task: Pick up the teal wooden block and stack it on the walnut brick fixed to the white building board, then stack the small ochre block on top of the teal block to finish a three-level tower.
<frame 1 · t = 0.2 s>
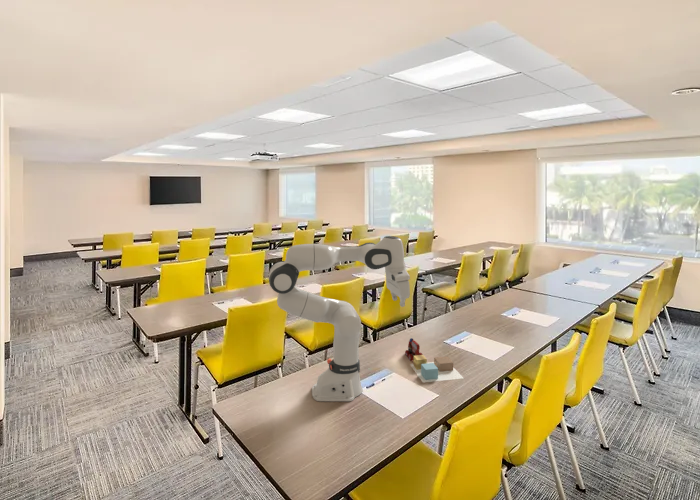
hand: (398, 303, 170), 39 cm above the table, tool pointing down, fingers open, 8 cm apart
teal block: (429, 376, 181), point 1 cm above the table, touching building board
building board: (435, 373, 187), on the table
ochre block: (419, 366, 191), point 1 cm above the table, touching building board
toy fire truck: (413, 359, 203), on the table
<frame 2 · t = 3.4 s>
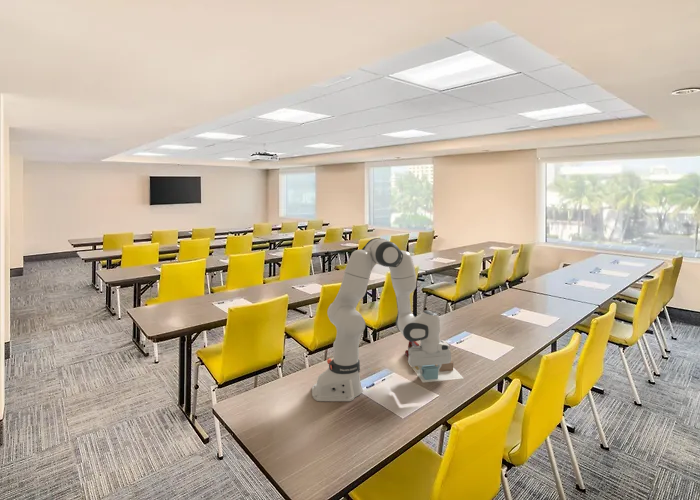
hand: (429, 372, 181), 3 cm above the table, tool pointing down, fingers closed on teal block, 6 cm apart
teal block: (429, 376, 181), point 1 cm above the table, touching building board, gripper
everything else where it was.
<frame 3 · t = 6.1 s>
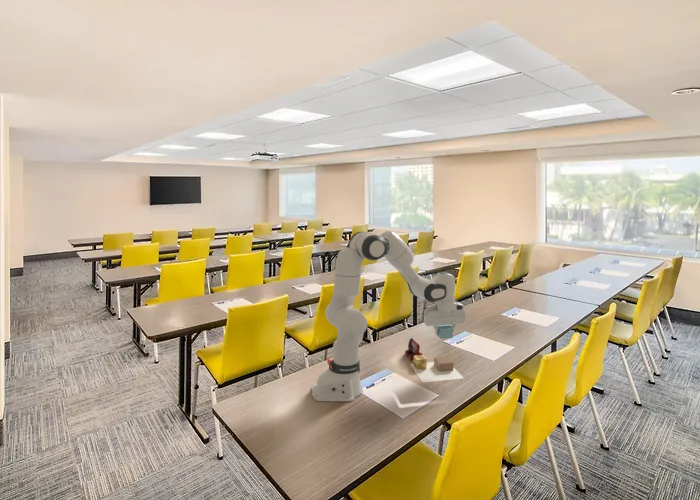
hand: (444, 332, 187), 19 cm above the table, tool pointing down, fingers closed on teal block, 6 cm apart
teal block: (444, 336, 187), point 18 cm above the table, touching gripper
everything else where it was.
when the fingers open (8 cm above the table, at t = 8.5 s): teal block drops 1 cm, resting on building board.
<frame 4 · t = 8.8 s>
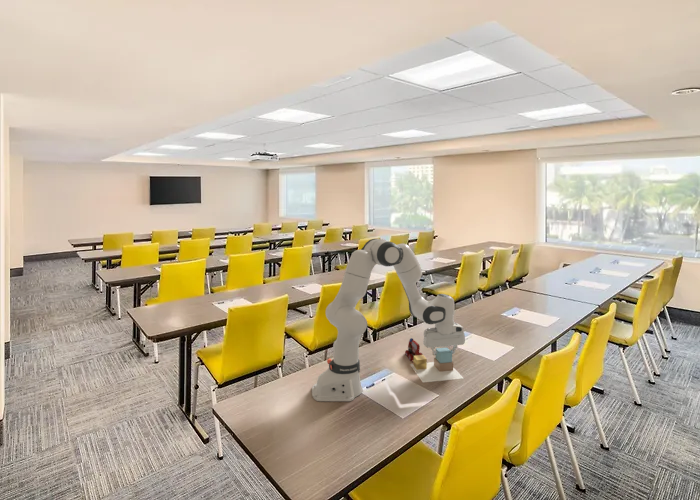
hand: (443, 354, 189), 8 cm above the table, tool pointing down, fingers open, 8 cm apart
teal block: (443, 360, 189), point 5 cm above the table, touching building board
everything else where it was.
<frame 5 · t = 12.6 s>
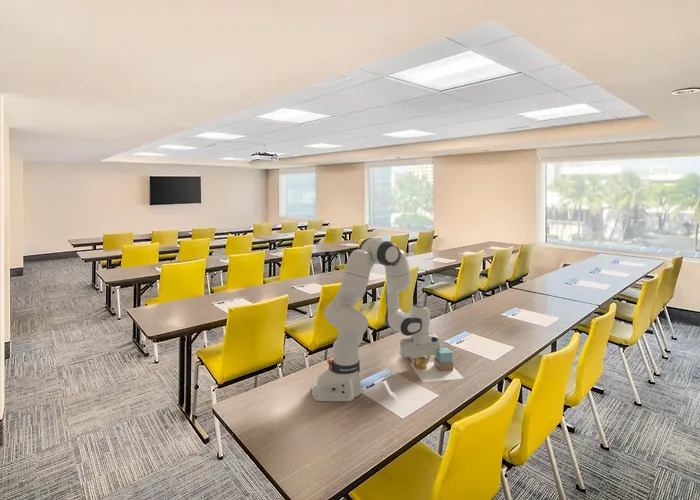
hand: (420, 363, 191), 3 cm above the table, tool pointing down, fingers closed on ochre block, 5 cm apart
ochre block: (419, 366, 191), point 1 cm above the table, touching building board, gripper
everything else where it was.
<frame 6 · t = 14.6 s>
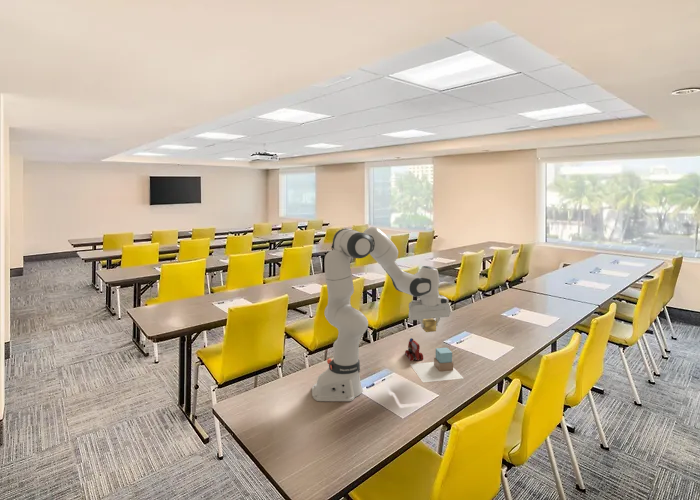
hand: (429, 326, 188), 22 cm above the table, tool pointing down, fingers closed on ochre block, 5 cm apart
ochre block: (429, 329, 188), point 20 cm above the table, touching gripper
everything else where it was.
when the fingers open (13 cm above the table, at t = 16.9 s): ochre block drops 1 cm, resting on teal block.
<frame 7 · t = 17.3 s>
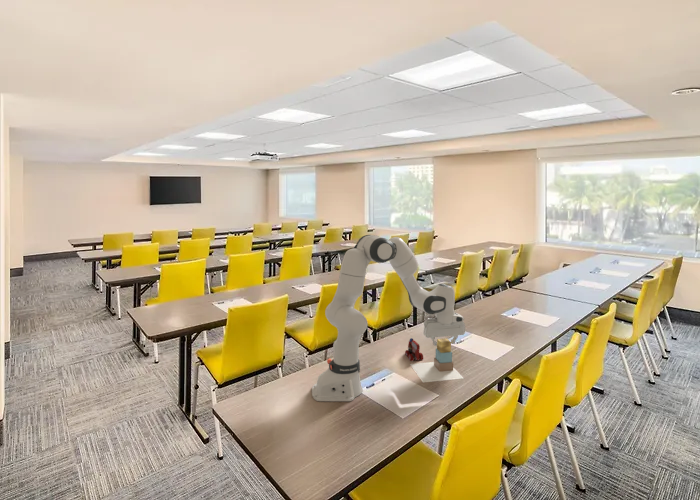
hand: (443, 344, 188), 13 cm above the table, tool pointing down, fingers open, 8 cm apart
teal block: (443, 360, 189), point 5 cm above the table, touching building board, ochre block
ochre block: (443, 350, 189), point 10 cm above the table, touching teal block
everything else where it was.
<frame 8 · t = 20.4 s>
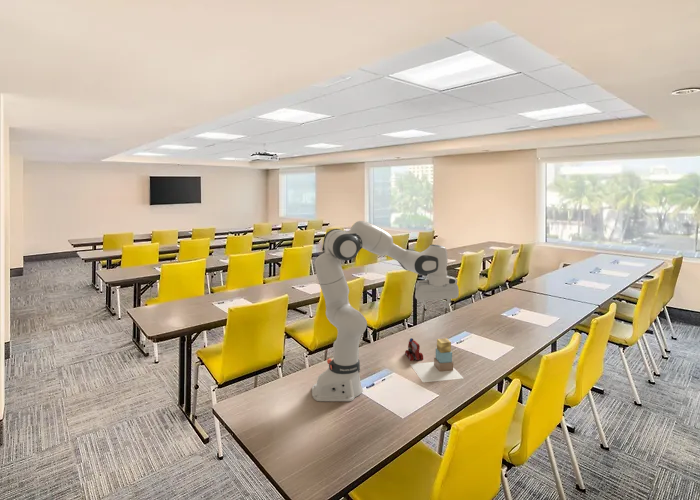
hand: (436, 308, 180), 33 cm above the table, tool pointing down, fingers open, 8 cm apart
nothing on the table moved.
at the end: teal block 0.0 cm from the target spot on the building board, point 5.2 cm above the building board's base; ochre block 0.1 cm off-centre on the teal block, point 5.0 cm above the teal block's base; ochre block tilted 0° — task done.
